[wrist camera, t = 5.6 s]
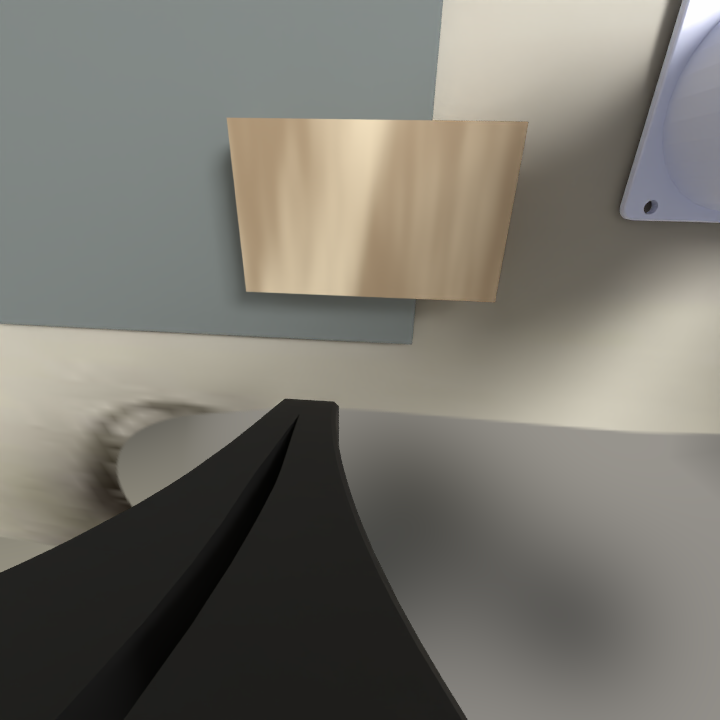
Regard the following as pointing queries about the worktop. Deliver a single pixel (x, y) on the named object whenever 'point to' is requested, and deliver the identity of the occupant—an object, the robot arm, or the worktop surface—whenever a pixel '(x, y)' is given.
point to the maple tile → (375, 205)
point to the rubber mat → (181, 153)
